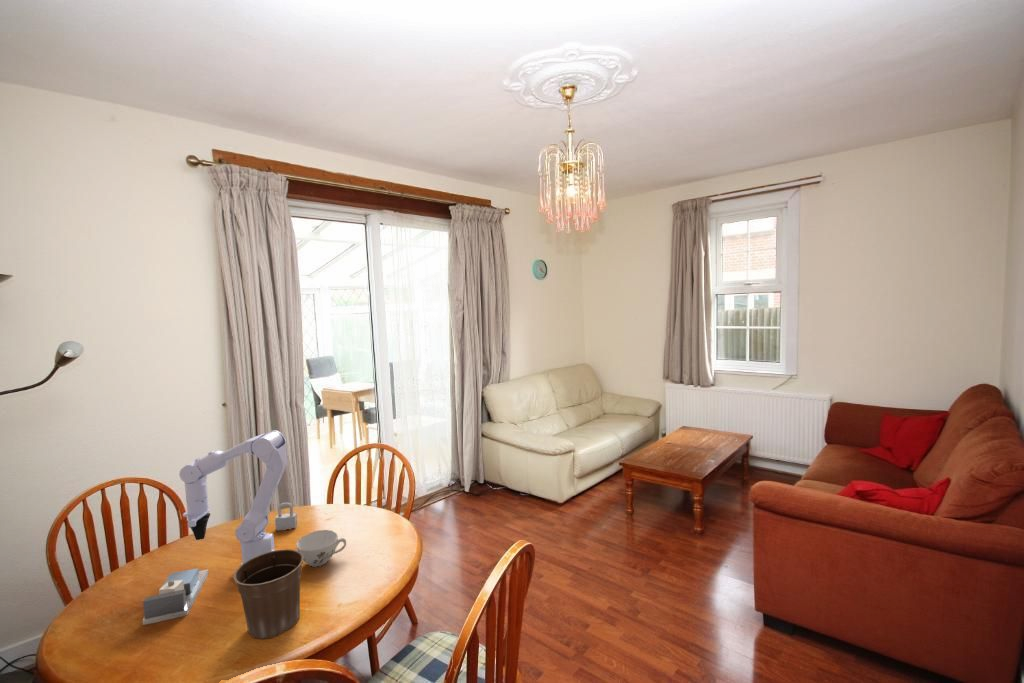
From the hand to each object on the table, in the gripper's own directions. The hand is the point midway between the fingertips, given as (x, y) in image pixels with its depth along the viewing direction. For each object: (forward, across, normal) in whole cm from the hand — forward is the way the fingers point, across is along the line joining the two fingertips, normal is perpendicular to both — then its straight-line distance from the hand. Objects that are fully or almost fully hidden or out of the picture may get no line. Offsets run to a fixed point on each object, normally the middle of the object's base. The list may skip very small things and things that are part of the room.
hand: (200, 538), depth 148 cm
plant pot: (+10, +40, +26) cm, 49 cm away
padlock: (+10, -18, +23) cm, 31 cm away
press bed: (+9, +16, -2) cm, 19 cm away
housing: (+8, +21, -2) cm, 23 cm away
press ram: (+8, +14, -2) cm, 16 cm away
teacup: (+10, +13, +37) cm, 40 cm away
